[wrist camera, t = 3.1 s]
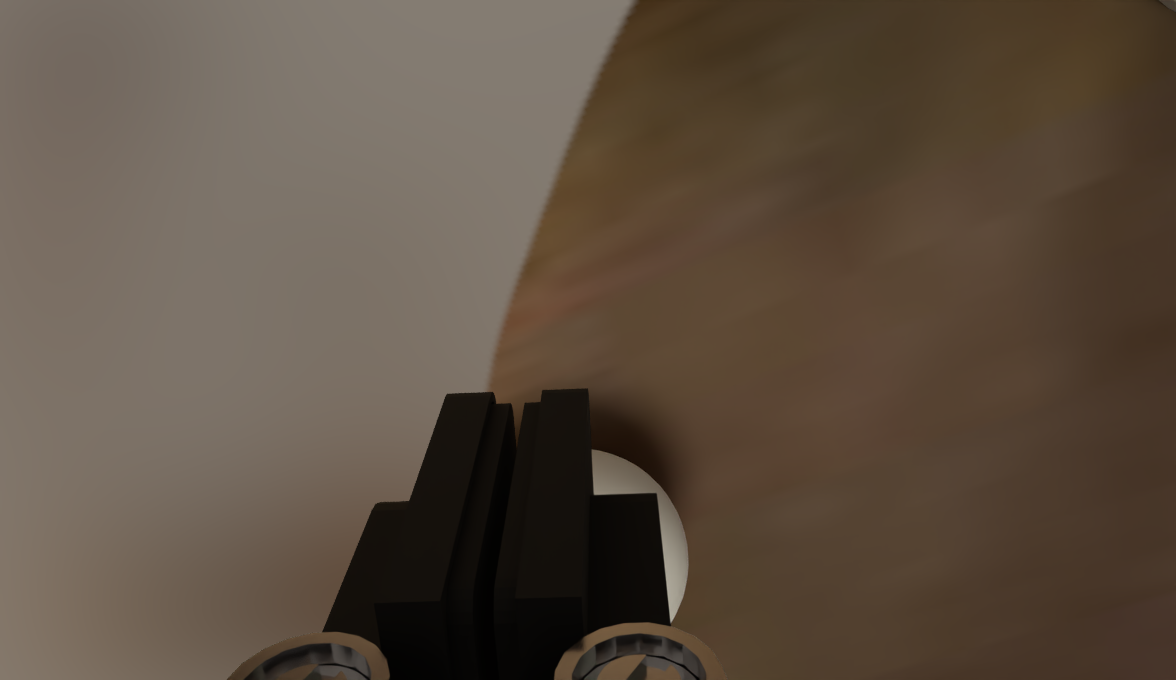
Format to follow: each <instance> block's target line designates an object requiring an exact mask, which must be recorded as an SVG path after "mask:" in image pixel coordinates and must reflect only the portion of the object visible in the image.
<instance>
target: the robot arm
mask: <svg viewBox="0 0 1176 680" xmlns="http://www.w3.org/2000/svg"><path fill="white" fill-rule="evenodd" d="M1159 1H1160V2H1161V3H1163V4H1164V5H1165V6H1166V7H1168V8H1169V9H1171V10H1173V11H1175V12H1176V0H1159ZM227 680H728V679H727V677H726V674H725V672H724V669H723V667H722V665H721V663H720V662H719V660H718V659H717V657H716V656H715V654H714V652H713V651H712V649H710V648H709V647H708V646H706V645H705V644H704V643H703V642H701V641H700V640H699V639H698V638H696V637H695V636H693V635H691V634H688V633H686V632H684V631H681V630H679V629H677V628H674V627H671V622H670V612H669V603H668V593H667V584H666V574H665V564H664V555H663V545H662V536H661V526H660V517H659V507H658V498H657V493H635V494H606V495H594V487H593V468H592V448H591V429H590V410H589V394H588V389H562V390H543V391H542V396H541V402H535V403H525V405H524V410H523V416H522V422H521V428H520V434H519V440H518V446H517V450H516V439H515V427H514V416H513V408H512V404H511V403H508V404H496V400H495V395H494V393H493V392H482V393H458V394H457V393H455V394H447V395H446V397H445V399H444V403H443V405H442V408H441V411H440V414H439V417H438V420H437V423H436V425H435V428H434V431H433V434H432V437H431V440H430V443H429V446H428V448H427V451H426V454H425V457H424V460H423V463H422V466H421V469H420V471H419V474H418V477H417V481H416V483H415V486H414V489H413V492H412V495H411V498H410V500H409V501H402V502H380V503H377V504H375V506H374V508H373V510H372V511H371V514H370V516H369V519H368V521H367V523H366V526H365V528H364V531H363V534H362V536H361V538H360V541H359V543H358V546H357V548H356V551H355V553H354V556H353V558H352V560H351V563H350V565H349V568H348V570H347V573H346V575H345V577H344V580H343V582H342V585H341V587H340V590H339V593H338V595H337V597H336V600H335V602H334V605H333V607H332V609H331V612H330V614H329V617H328V620H327V622H326V624H325V627H324V629H323V631H322V632H321V633H310V634H306V635H301V636H297V637H293V638H289V639H286V640H283V641H281V642H279V643H276V644H274V645H272V646H269V647H267V648H265V649H263V650H261V651H260V652H258V653H257V654H255V655H254V656H252V657H251V658H249V659H248V660H246V661H245V662H243V663H242V664H241V665H240V666H239V667H238V668H237V669H236V670H235V671H234V672H233V673H232V674H231V676H230V677H229V678H228V679H227Z"/></svg>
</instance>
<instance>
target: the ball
mask: <svg viewBox="0 0 1176 680" xmlns="http://www.w3.org/2000/svg"><path fill="white" fill-rule="evenodd" d="M592 468H593V487H594V495H606V494H635V493H657V498H658V507H659V517H660V526H661V536H662V545H663V555H664V564H665V574H666V584H667V593H668V603H669V612H670V622H672V620H673V619H674V617H675V615H676V613H677V610H678V608H679V606H680V603H681V601H682V598H683V595H684V591H685V587H686V582H687V576H688V548H687V541H686V537H685V533H684V529H683V525H682V522H681V520H680V517H679V515H678V513H677V511H676V509H675V507H674V505H673V504H672V502H671V500H670V498H669V497H668V495H667V494H666V493H665V491H664V490H663V489H662V488H661V486H660V485H659V484H658V483H657V482H656V481H655V480H654V479H653V478H651V477H650V476H649V475H648V474H647V473H646V472H645V471H643V470H642V469H641V468H639V467H638V466H636V465H635V464H633V463H631V462H629V461H627V460H625V459H623V458H621V457H618V456H616V455H613V454H610V453H606V452H603V451H599V450H592Z"/></svg>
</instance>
